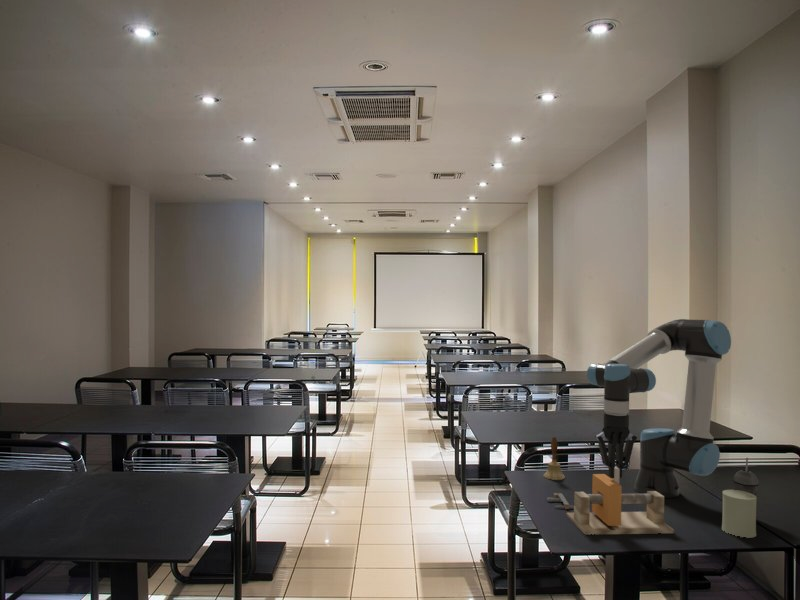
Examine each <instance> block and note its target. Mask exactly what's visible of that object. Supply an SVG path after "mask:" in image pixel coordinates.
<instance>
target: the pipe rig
mask: <svg viewBox="0 0 800 600" xmlns="http://www.w3.org/2000/svg"><path fill="white" fill-rule="evenodd" d="M573 496H574V497H573V506H574V508H573V512H566V514H565V515H566V517H567V518H568V519H569V520H570V521H571V522H572V523H573V524H574V525H575V526H576V527H577V528H578V529H579V531H581V532H582V533H583V534H584V535H591V534H592V535H594V534H595V535H644V534H645V535H646V534H649V535H651V534H654V535H655V534H658V533H661V534H675V529H673V527H671V526H669V525H668V524H667V523H665V498H664V496H663V495H661V494H660V493H658V492H657V491H647V494H642V493H622V497H621V505H622V504H623V505H627V504H628V505H630V504H631V505H634V504H636V505H638V504H642V505H643V504H644V505H645V504H646V511H621V525H620V526H608V525H607V524H606V523H605V522H604V521H603V520H601V519H600V518H599V517H598V516H597V515H596V514H595V513H594V512H593V511H591V510H590V508H591V505H592V504H603V494H592V493H586V492H585V491H574V494H573ZM595 535H594V536H595Z"/></svg>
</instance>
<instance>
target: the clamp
mask: <svg viewBox="0 0 800 600" xmlns="http://www.w3.org/2000/svg"><path fill="white" fill-rule="evenodd" d="M552 496H553V497H547V498H546V501H547V503H548V502H550V503H553V502H560V503H561V502H563V503H562V504H563V505H554V508H558V509H564V508H565V509H564V510H566V509H568V510H569V509H574V505H570V504H569V501H567V499H566V497H565V496H564V495H563V493H560V492H553V493H552Z"/></svg>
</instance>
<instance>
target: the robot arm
mask: <svg viewBox="0 0 800 600" xmlns="http://www.w3.org/2000/svg"><path fill="white" fill-rule="evenodd" d="M731 346H732V338H731V333H730V330H729V329H728V327H727V325H725V323H724V322H722V321H720V320H719V321H718V320H711V319H687V318H680V319H674V320H671V321H668V322H666V323H664V324H660V325H659V326H657V327H655V328H653V329H651V330H650V331H648V334H647V335H646V337H644V338H643V339H641V340H640V341H637V343H634V344H633V345H632V346H630V347H628V348H627V349H625V350H623V351H622V352H620V353H618V354H617V355H615V356H614V357H612V358H610V359H608V360H607V361H606V362H604V363H592V364H590V365H589V366H588V367H587V369H586V370H587V371H586V379H587V381H588V382H589V383H590V384H591V385H593V386H597V387H603V389H604V390H603V391H604V392H603V411H604V413H603V428H602V429H601V432H600V433H599V434H598V433H597V434H595V435H594V438H595V440H596V441H597V444H598V448H599V453H600V458H601V462H602V464H603V465H605V466H606V467H608V475H607V476H608V477H609V478H611V479H612V480H614V481H615V482H617V483H618V484H619V485H620V479H622V477H623V469H624V468H625V467H628V466H629V464H630V460H631V455H632V452H633V447H634V445H635V442H636V441H637V439H638V437H637V436H636V435H634V434H633V433H631V431H630V429H629V428H630V427H629V426H630V415H629V413H630V394H635V393H638V394H639V393H646V392H650V391H652V390H653V389H654V388H655V386H656V384H657V378H656V375H655V373H654V372H653V371H652V370H651V369H649V368H641V367H642V366H643V365H645V364H647V363H648V362H650V361H652V360H653V359H654V358H657V356H659V355H660V354H662V355H664V354H665V355H666V354H668V353H669V352H672V351H683V352H684V357H685V358H686V359H687V360H688V367H687V375H686V376H687V377H686V386H685V396H684V402H683V403H684V405H683V413H682V425H681V427H680V428H679V429H678V430H677V431H675V430H674V429H672V428H661V427H660V428H658V427H657V428H654V427H653V428H647V429H643V430H642V431H641V432H640V440H639V442H640V445H639V446H640V449H639V450H640V451H639V453H640V454H639V457H640V459H639V470H638V472H637V475H636V477H635V478H636V479H635V481H634V490H635V491H637V492H638V493H639V494H647V491H657V492H658V493H660V494H661V495H663V496H664V499H669V498H670V499H671V498H676V497H678V496H680V486H679V483H678V479H677V477H676V474H675V469H676V470H679V471H682V472H685V473H690V474H691V475H696V476H701V477H706V476H709V475H711V474H712V473H713V472H714V471H716V468H717V467H718V464H719V461H720V458H721V452H720V449H719V446H718V445H716V444H715V443H714V438H715V437H714V436H713V435H712V434H711V433H710V428H711V418H712V408H713V400H714V388H715V379H716V370H717V363H719V362H721V361H722V358H723V357H722V356H723V355H727V354H728V352H729V350H731ZM605 439H606V440H607V445H606V443H605ZM606 446H607V447H606ZM607 448H608V449H607Z"/></svg>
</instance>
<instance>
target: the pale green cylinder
mask: <svg viewBox="0 0 800 600" xmlns="http://www.w3.org/2000/svg"><path fill="white" fill-rule="evenodd" d="M721 519H722V520H721V530H722V531H723V532H724V531H725V532H724V533H726V534H728V533H729V534H728V535H730V534H732V535H731V536H733V535H735V536H734V537H737V536H740V537H739V538H743V537H746V538H745V539H750V538H751V539H752V538H755V537H757V495H756V496H755V495H753V494H751V493H748V492H745V491H740V490H735V489H724V490H722V518H721Z"/></svg>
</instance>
